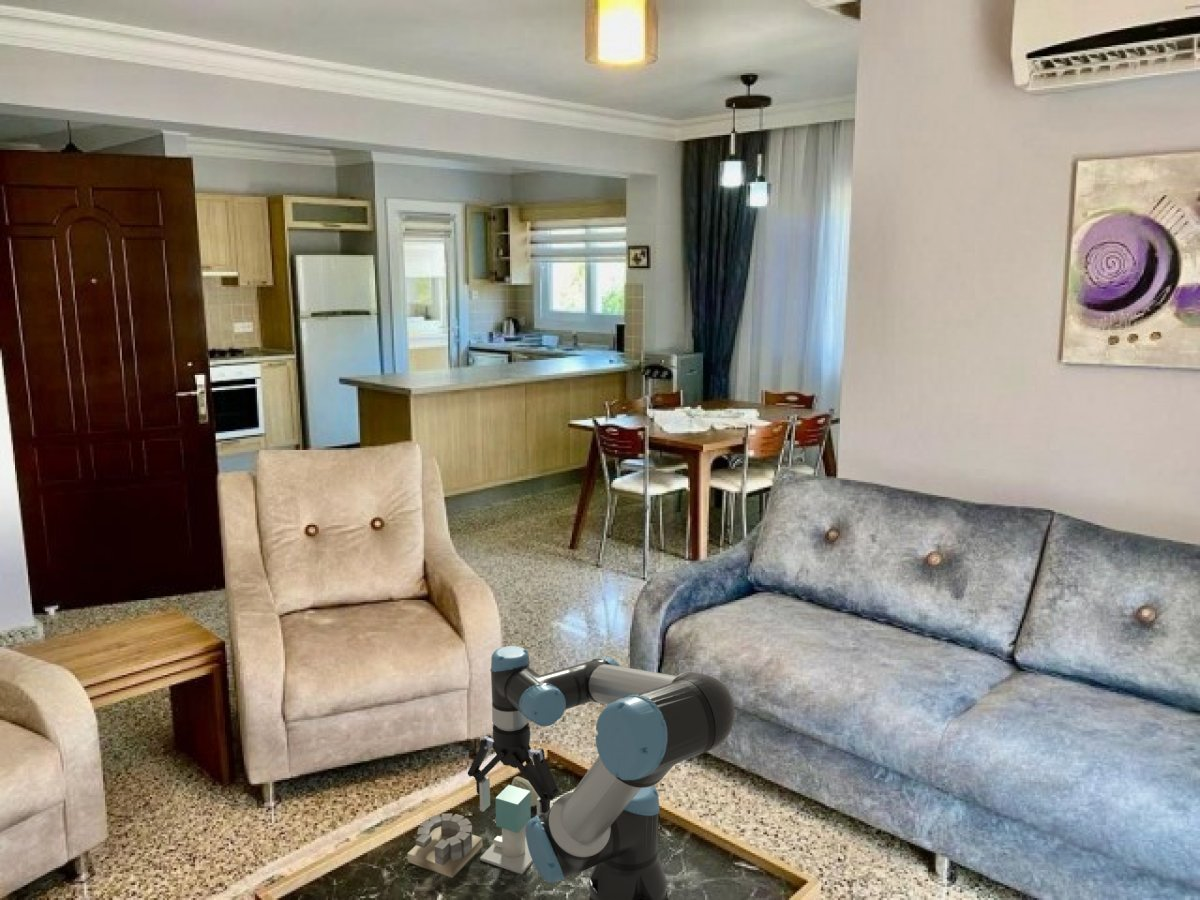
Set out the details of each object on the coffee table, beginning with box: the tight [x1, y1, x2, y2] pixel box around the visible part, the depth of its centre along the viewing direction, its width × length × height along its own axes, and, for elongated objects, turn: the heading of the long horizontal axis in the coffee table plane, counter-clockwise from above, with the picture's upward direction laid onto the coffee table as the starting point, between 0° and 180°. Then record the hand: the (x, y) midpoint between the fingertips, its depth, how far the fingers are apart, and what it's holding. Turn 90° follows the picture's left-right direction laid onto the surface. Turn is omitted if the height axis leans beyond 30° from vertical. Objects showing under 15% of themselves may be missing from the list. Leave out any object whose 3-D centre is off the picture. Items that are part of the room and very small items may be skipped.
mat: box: [479, 834, 533, 875], centre depth 190 cm, size 10×10×1 cm
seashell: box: [511, 776, 539, 807], centre depth 206 cm, size 8×8×8 cm
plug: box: [493, 784, 532, 858], centre depth 189 cm, size 7×5×13 cm
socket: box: [406, 813, 483, 879], centre depth 189 cm, size 11×11×6 cm
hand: (513, 816), depth 188 cm, fingers open, 13 cm apart
